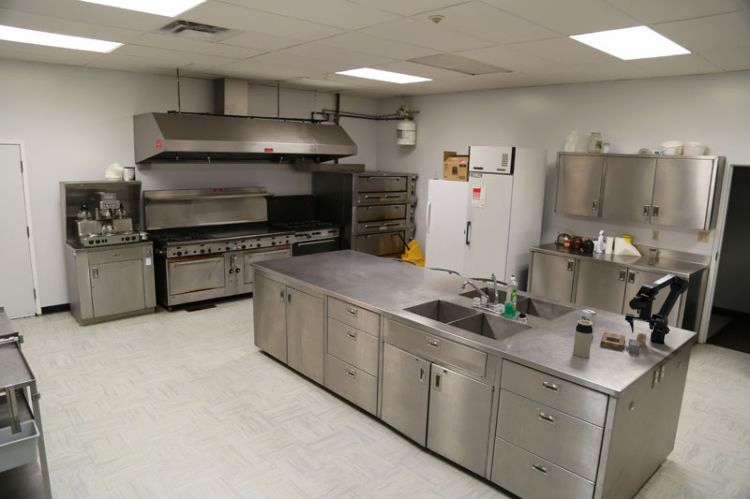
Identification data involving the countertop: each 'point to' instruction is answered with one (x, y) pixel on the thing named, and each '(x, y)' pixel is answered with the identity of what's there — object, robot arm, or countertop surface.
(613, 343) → the socket block
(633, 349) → the grey rectangular block
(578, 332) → the travel mug
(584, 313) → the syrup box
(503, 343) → the countertop surface
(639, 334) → the square bit
